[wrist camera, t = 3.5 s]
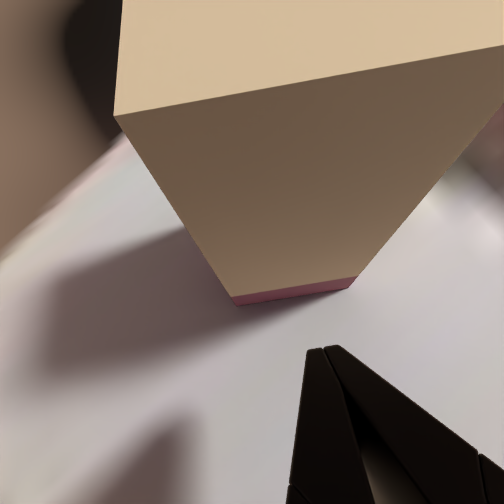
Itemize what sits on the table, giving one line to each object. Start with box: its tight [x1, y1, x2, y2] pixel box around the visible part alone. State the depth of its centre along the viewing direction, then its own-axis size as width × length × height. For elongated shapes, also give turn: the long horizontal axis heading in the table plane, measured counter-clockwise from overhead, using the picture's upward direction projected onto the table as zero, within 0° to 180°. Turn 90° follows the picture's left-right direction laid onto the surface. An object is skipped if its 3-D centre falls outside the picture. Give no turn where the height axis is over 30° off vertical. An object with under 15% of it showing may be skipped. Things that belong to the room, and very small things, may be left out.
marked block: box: [114, 0, 504, 306], centre depth 10 cm, size 6×6×12 cm
